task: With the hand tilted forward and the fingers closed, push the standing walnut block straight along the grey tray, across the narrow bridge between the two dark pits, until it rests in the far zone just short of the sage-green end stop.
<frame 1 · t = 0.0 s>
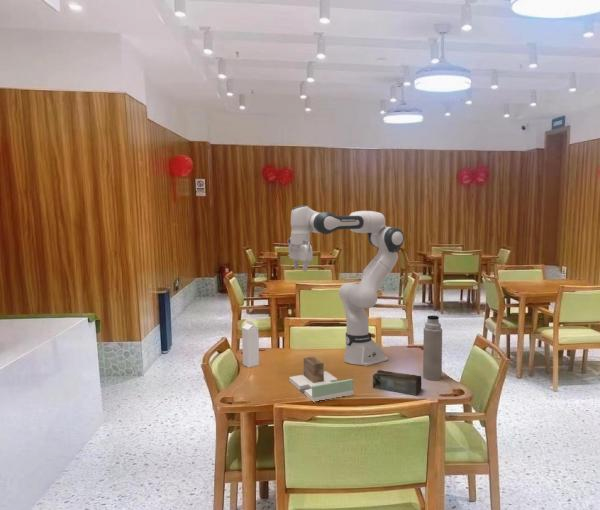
hand: (300, 269, 208), 48 cm above the table, tool pointing down, fingers open, 8 cm apart
thermos bottle: (432, 377, 199), on the table
grey tray: (320, 387, 189), on the table
walnut block: (313, 378, 195), point 2 cm above the table, touching grey tray
milk: (251, 365, 220), on the table
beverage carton: (396, 389, 187), on the table
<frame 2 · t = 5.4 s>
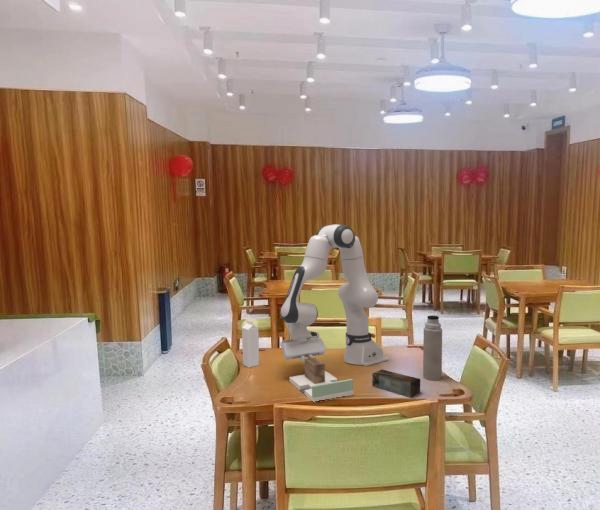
hand: (309, 365, 198), 7 cm above the table, tool tilted 45°, fingers closed, pressing on walnut block
walnut block: (314, 379, 194), point 2 cm above the table, touching grey tray, gripper
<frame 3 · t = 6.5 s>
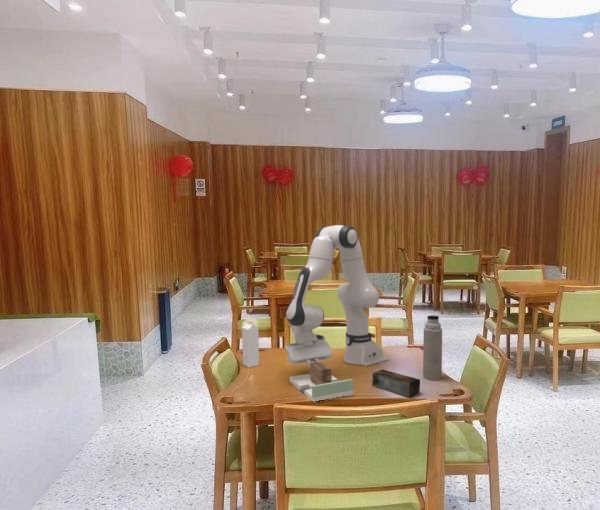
hand: (314, 369, 192), 7 cm above the table, tool tilted 45°, fingers closed
walnut block: (320, 384, 188), point 2 cm above the table
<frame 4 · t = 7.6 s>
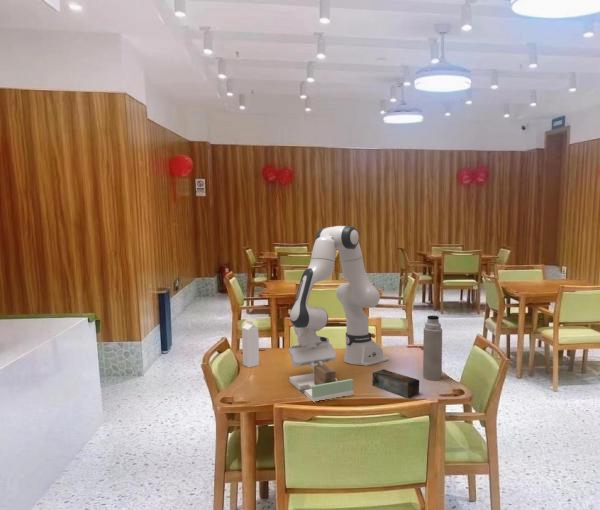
hand: (318, 372, 189), 7 cm above the table, tool tilted 45°, fingers closed, pressing on walnut block
walnut block: (324, 387, 184), point 2 cm above the table, touching grey tray, gripper
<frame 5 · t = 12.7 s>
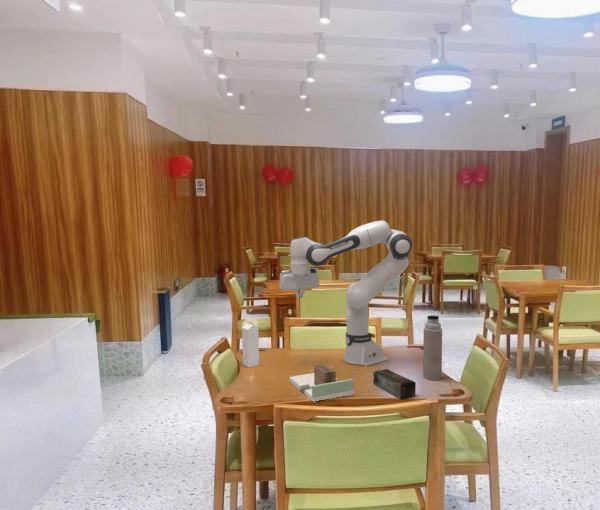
hand: (299, 297, 218), 33 cm above the table, tool pointing down, fingers closed
walnut block: (324, 387, 184), point 2 cm above the table, touching grey tray
at the end: walnut block inside the target area (0.1 cm from its centre), point 2.0 cm above the table; walnut block tilted 0° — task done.
